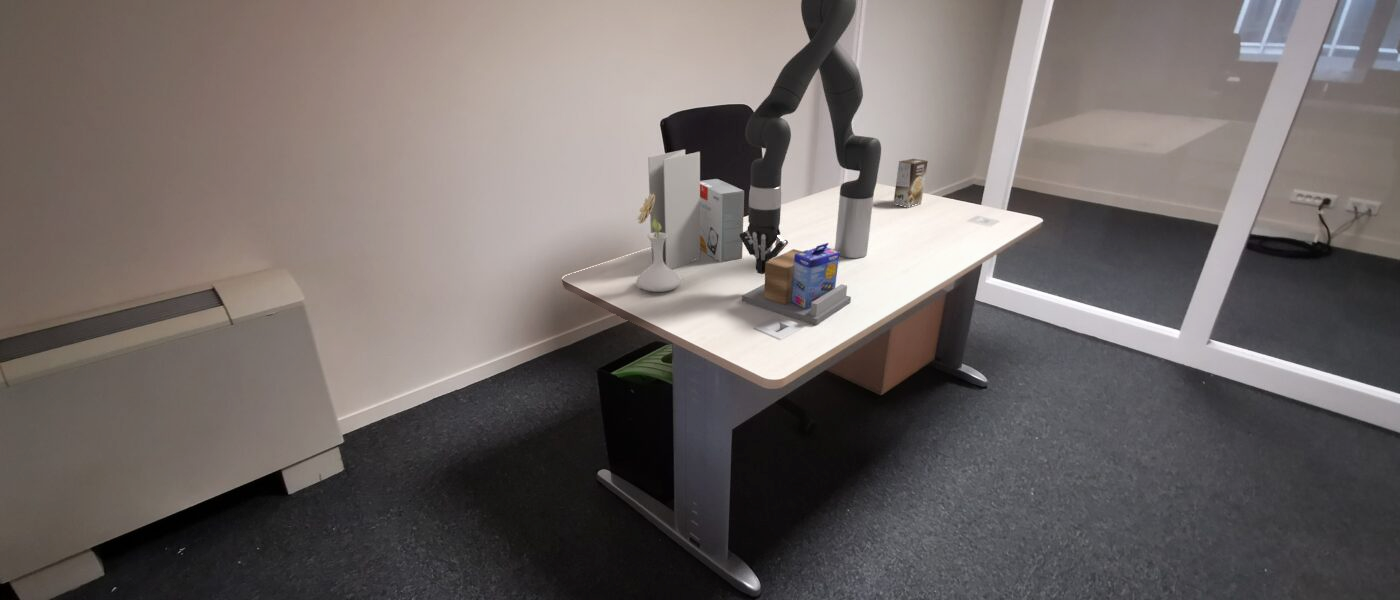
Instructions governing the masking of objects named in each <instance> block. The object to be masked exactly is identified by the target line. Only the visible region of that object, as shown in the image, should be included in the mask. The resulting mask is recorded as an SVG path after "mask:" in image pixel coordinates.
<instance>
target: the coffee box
mask: <svg viewBox="0 0 1400 600" xmlns="http://www.w3.org/2000/svg"><path fill="white" fill-rule="evenodd" d="M928 162H929V161H928V160H924V159H917V158H910V159H904V160H903V159H902V160H900V161H898V166H897V173H896V174H897V175H896V182H895V190H894V196H893V202H892V203H893V204H898V205H902V206H906V207H909V206H912V205H915V204H918V203H921V204H922V200H923V194H924V187H925V183H926V182H925V181H926V174H927V169H928V168H927V167H928ZM893 204H892V205H893ZM909 208H910V207H909Z"/></svg>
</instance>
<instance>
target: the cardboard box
mask: <svg viewBox="0 0 1400 600" xmlns="http://www.w3.org/2000/svg"><path fill="white" fill-rule="evenodd" d="M799 252H803V251H802V250H798V249H791V250H789V251H786V252H784V253H783V254H781V255H780V254H779V256H778V255H777V256H776V257H774V258H772V259H770V260H769V261H768V262H766V264H765V274H764V284H765V287H764V298H766V299H769V300H772V301H775V302H778V303H782V304H785V305H786V304H787V303H789V302H791V293H792V281H793V269H794V257H795V254H796V253H799Z"/></svg>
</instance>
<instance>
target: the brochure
mask: <svg viewBox="0 0 1400 600" xmlns="http://www.w3.org/2000/svg"><path fill="white" fill-rule="evenodd" d="M647 159H648V160H647V161H648V167H647V168H648V190H649V195H650V193H651V195H653V193H654V195H655V203H654V205H653V208H652V211H653V213H654V215H655V217H656V219H657V221H658V223H659V224H660V225H661V227H662V228H661V230H660V231H659V232H661V233H666V234H667V235H668V236H667V238H666V239H665V241H664V244H663V262H665V265H666V266H667V267H669V268H670V269H672V270H674V269H677V268H679V266H680V267H682V266H684V265H687V264H689V263H692V262H694V261H696V260H698V258H699V259H700V258H701V249H700V181H701V151H696V152H693V153H692V152H691V153H688V154H686V149H680V150H674V151H671V152H666V153H662V154H658V155H653V156H648V157H647ZM649 195H648V196H649ZM654 219H655V218H654V216H653V215H652V213H650V214H649V221H650V233H655V232H656V230H655V229H654V228H653V227H652V226H651V224H652V222H653V220H654ZM650 248H651V249H650V251H651V252H650V253H651V265H652V264H653V260H654V254H653V247H652V243H651V242H650ZM695 259H696V260H695ZM693 260H694V261H693ZM686 263H687V264H686Z"/></svg>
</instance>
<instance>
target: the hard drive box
mask: <svg viewBox="0 0 1400 600" xmlns="http://www.w3.org/2000/svg"><path fill="white" fill-rule="evenodd" d="M744 200H745V190H743V189H741V188H738V187H737V186H735V185H732V184H730V183H728V182H725V181H723V180H720V179H718V178H713V179H706V180H700V251H702V250H703V251H702V252H705V254H707V255H709V256H710V257H711V258H713V259H714V258H715V259H714V260H716V261H717V262H719V263H724V261H725V262H730V261H735V260H739V259H742V258H743V245H744V243H743V241H742V239H741V238H740V234H741V233H743V232H744V214H745V213H744V212H745V211H744V208H745V206H744V205H745V201H744ZM729 260H730V261H729Z"/></svg>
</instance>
